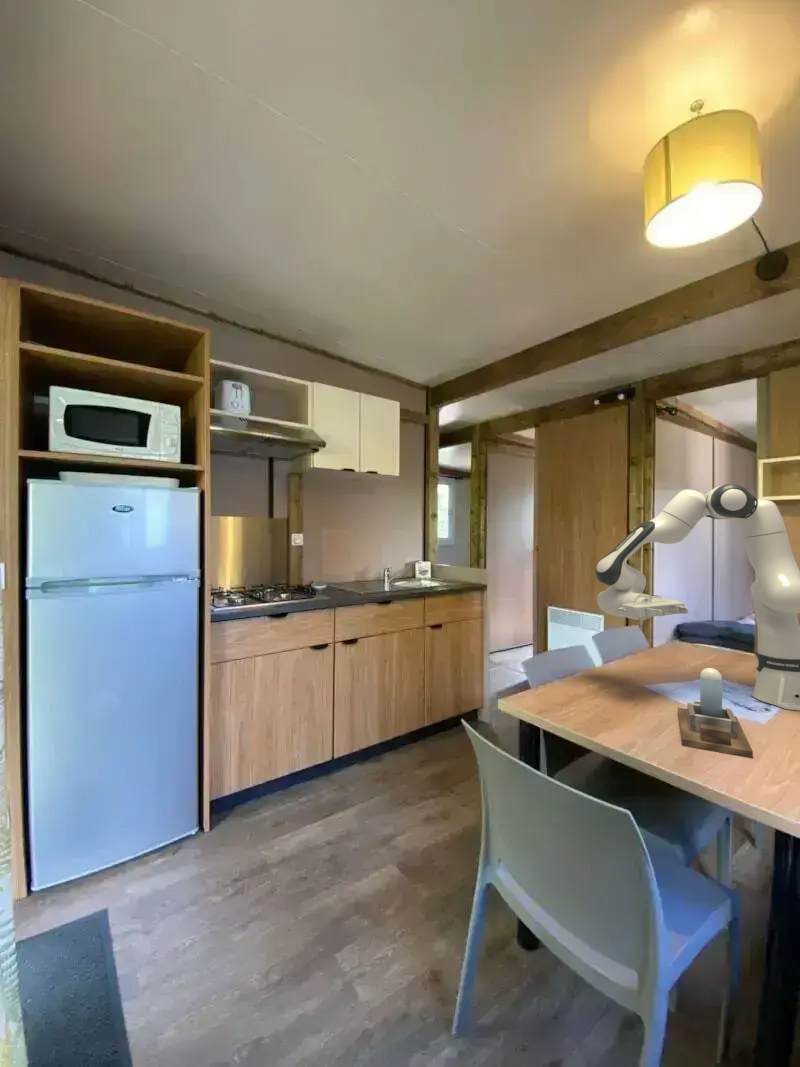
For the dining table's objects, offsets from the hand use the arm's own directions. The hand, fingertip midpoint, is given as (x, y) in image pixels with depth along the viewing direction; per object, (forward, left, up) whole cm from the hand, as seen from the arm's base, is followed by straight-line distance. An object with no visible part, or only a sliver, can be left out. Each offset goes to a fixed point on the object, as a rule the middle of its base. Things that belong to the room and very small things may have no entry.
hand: (674, 612), depth 141 cm
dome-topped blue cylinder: (-7, +18, -27) cm, 33 cm away
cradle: (-7, +18, -29) cm, 34 cm away
